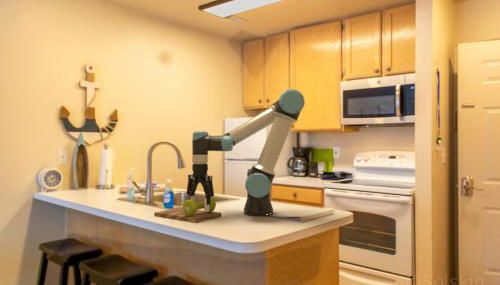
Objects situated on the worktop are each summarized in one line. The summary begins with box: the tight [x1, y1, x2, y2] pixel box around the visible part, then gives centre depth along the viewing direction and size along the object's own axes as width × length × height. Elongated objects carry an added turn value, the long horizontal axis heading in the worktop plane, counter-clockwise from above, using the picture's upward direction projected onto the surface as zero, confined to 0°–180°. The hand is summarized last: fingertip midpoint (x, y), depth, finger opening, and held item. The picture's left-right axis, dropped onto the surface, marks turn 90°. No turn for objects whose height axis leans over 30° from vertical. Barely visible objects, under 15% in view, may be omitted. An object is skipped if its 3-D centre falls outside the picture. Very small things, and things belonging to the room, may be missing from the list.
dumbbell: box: [182, 196, 217, 216], centre depth 178 cm, size 16×8×7 cm, turn 139°
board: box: [153, 206, 222, 224], centre depth 183 cm, size 28×18×2 cm, turn 56°
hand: (199, 210), depth 178 cm, fingers closed on dumbbell, 8 cm apart
